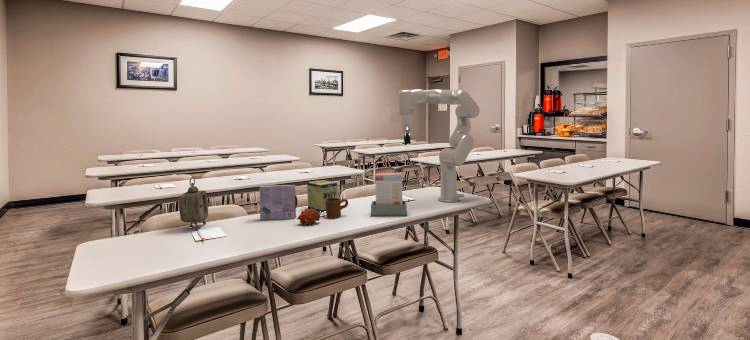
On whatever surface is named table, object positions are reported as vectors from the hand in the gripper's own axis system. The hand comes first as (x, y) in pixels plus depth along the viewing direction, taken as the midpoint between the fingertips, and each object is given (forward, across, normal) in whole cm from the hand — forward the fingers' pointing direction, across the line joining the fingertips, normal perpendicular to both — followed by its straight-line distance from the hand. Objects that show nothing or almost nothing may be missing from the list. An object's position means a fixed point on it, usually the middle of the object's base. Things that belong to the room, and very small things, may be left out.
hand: (407, 143), depth 245 cm
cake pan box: (+34, +27, -69) cm, 81 cm away
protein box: (+35, +6, -50) cm, 61 cm away
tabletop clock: (+32, +43, -106) cm, 119 cm away
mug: (+35, +23, -39) cm, 57 cm away
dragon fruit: (+34, +38, -51) cm, 73 cm away
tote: (+36, +19, -12) cm, 42 cm away
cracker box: (+35, +19, -12) cm, 41 cm away
